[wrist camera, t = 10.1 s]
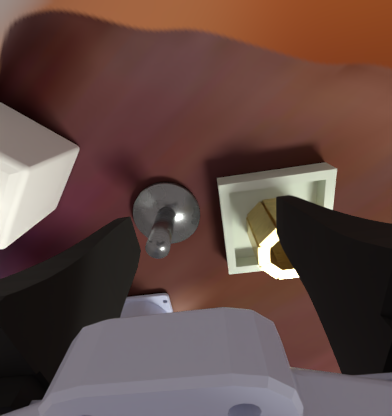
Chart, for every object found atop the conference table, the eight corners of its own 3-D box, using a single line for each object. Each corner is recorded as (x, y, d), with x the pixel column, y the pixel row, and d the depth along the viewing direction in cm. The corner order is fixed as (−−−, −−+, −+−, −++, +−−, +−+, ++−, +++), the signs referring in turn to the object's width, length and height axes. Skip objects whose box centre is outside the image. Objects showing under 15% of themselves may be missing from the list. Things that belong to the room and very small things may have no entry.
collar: (299, 194, 21) (327, 221, 17) (297, 249, 24) (320, 284, 19) (244, 202, 22) (256, 229, 17) (248, 255, 24) (260, 291, 20)
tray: (317, 251, 25) (327, 263, 23) (227, 261, 25) (229, 274, 24) (324, 162, 21) (337, 168, 19) (216, 178, 21) (218, 185, 20)
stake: (204, 236, 24) (205, 276, 19) (143, 243, 25) (128, 285, 19) (194, 177, 21) (192, 204, 16) (126, 187, 22) (102, 216, 16)
